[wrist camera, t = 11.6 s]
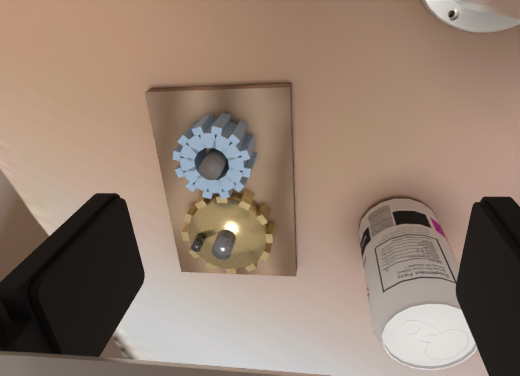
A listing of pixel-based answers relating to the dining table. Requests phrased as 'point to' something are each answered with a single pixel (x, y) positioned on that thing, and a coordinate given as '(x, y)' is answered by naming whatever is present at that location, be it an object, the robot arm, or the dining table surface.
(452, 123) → the dining table surface
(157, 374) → the robot arm
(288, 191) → the gear board
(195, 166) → the blue gear
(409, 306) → the supplement can
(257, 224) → the brass drive gear
